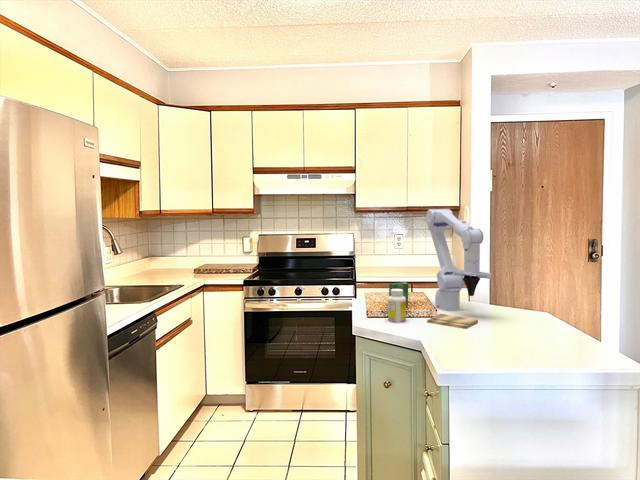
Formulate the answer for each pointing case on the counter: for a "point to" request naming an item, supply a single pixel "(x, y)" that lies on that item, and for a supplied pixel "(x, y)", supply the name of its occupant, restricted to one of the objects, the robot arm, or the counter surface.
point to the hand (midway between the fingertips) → (471, 295)
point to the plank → (455, 319)
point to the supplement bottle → (397, 306)
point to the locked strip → (448, 323)
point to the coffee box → (400, 286)
